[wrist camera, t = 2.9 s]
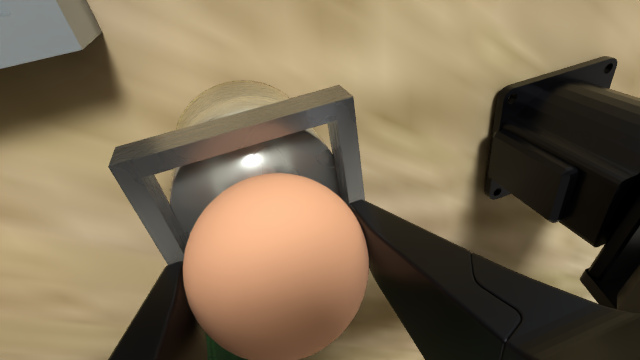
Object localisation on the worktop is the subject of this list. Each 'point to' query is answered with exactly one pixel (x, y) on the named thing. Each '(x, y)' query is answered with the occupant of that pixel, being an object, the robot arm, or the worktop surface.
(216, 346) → the coffee jar
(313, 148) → the hollow square frame
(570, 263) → the worktop surface
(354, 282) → the ball
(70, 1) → the tray
